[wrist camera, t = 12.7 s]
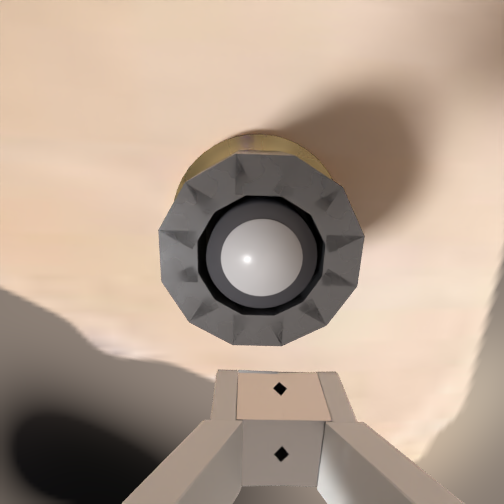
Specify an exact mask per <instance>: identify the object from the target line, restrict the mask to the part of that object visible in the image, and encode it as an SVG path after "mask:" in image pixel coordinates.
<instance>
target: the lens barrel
mask: <svg viewBox="0 0 504 504" xmlns="http://www.w3.org/2000/svg"><path fill="white" fill-rule="evenodd" d="M245 195H254V196H279V197H281V198H283V199H285V200H286V201H288V202H289V203H290V204H291V205H292V206H293V207H294V208H295V209H296V210H297V211H298V213H299V214H300V216H301V217H302V218H303V220H304V221H305V223H306V224H307V225H308V227H309V229H310V230H311V232H312V234H313V236H314V239H315V242H316V246H317V263H316V268H315V271H314V274H313V276H312V278H311V280H310V282H309V283H308V285H307V286H306V287H305V289H304V290H303V291H302V292H301V293H300V294H299V295H297V296H296V297H295V298H293V299H292V300H290V301H288V302H286V303H284V304H281V305H278V306H275V307H269V308H252V307H247V306H244V305H241V304H238V303H236V302H234V301H232V300H231V299H229V298H228V297H226V296H225V295H224V294H223V293H222V292H221V291H220V290H219V289H218V288H217V287H216V285H215V284H214V282H213V280H212V279H211V277H210V274H209V271H208V267H207V261H206V252H207V245H208V242H209V239H210V236H211V234H212V231H213V229H214V226H215V224H216V221H217V219H218V217H219V215H220V213H221V212H222V211H223V209H224V208H225V207H226V206H227V205H229V204H230V203H232V202H234V201H236V200H238V199H240V198H242V197H243V196H245ZM158 231H159V248H160V265H161V281H162V283H163V284H164V286H165V287H166V289H167V290H168V292H169V293H170V295H171V296H172V298H173V299H174V301H175V302H176V304H177V305H178V307H179V308H180V309H181V311H182V312H183V314H184V315H185V317H186V318H187V320H188V321H189V322H190V323H191V324H193V325H195V326H197V327H199V328H201V329H203V330H205V331H207V332H209V333H211V334H213V335H214V336H216V337H218V338H220V339H222V340H224V341H226V342H228V343H230V344H232V345H257V346H283V345H285V344H287V343H289V342H292V341H294V340H296V339H298V338H300V337H302V336H305V335H307V334H309V333H311V332H313V331H315V330H318V329H320V328H322V327H324V326H326V325H327V324H328V323H329V322H330V320H331V319H332V318H333V317H334V315H335V314H336V313H337V311H338V310H339V309H340V308H341V306H342V305H343V304H344V302H345V301H346V300H347V299H348V297H349V296H350V295H351V294H352V292H353V291H354V290H355V288H356V287H357V284H358V277H359V270H360V263H361V256H362V249H363V242H364V234H363V232H362V230H361V227H360V225H359V223H358V220H357V218H356V216H355V214H354V211H353V209H352V207H351V205H350V202H349V200H348V198H347V196H346V193H345V191H344V189H343V187H342V186H340V185H339V184H337V183H336V182H334V181H333V180H332V178H331V176H330V174H329V173H328V171H327V170H326V169H325V167H324V166H323V165H322V163H321V162H320V161H319V160H318V159H317V158H316V157H315V156H314V155H313V154H311V153H310V152H309V151H307V150H306V149H305V148H303V147H301V146H300V145H298V144H296V143H294V142H292V141H289V140H287V139H284V138H281V137H277V136H272V135H263V134H252V135H243V136H238V137H234V138H231V139H228V140H225V141H223V142H221V143H219V144H217V145H215V146H213V147H212V148H210V149H209V150H207V151H206V152H204V153H203V154H202V155H201V156H200V157H199V158H198V159H196V161H195V162H194V163H193V164H192V165H191V166H190V168H189V169H188V170H187V172H186V173H185V175H184V177H183V178H182V180H181V182H180V185H179V187H178V189H177V192H176V196H175V199H174V203H173V205H172V207H171V208H170V210H169V212H168V214H167V216H166V217H165V219H164V221H163V223H162V225H161V226H160V228H159V230H158Z"/></svg>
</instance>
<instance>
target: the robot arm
mask: <svg viewBox="0 0 504 504" xmlns="http://www.w3.org/2000/svg"><path fill="white" fill-rule="evenodd" d="M272 485H275V486H276V485H280V486H305V487H317V490H318V491H319V492H320V494H321V495H322V497H323V498H324V499H325V501H326V502H327V504H465V503H463V502H462V501H461V500H460V499H458V498H457V497H456V496H455V495H453V494H452V493H451V492H450V491H449V490H447V489H446V488H445V487H444V486H442V485H441V484H440V483H439V482H437V481H436V480H435V479H434V478H432V477H431V476H430V475H428V474H427V473H426V472H425V471H424V470H422V469H421V468H420V467H419V466H417V465H416V464H415V463H414V462H413V461H411V460H410V459H409V458H408V457H406V456H405V455H404V454H403V453H401V452H400V451H399V450H398V449H396V448H395V447H394V446H393V445H391V444H390V443H389V442H388V441H386V440H385V439H384V438H383V437H382V436H380V435H379V434H378V433H377V432H375V431H374V430H373V429H372V428H370V427H369V426H368V425H367V424H365V423H364V422H357V419H356V417H355V415H354V412H353V410H352V407H351V405H350V402H349V400H348V397H347V395H346V392H345V390H344V387H343V385H342V382H341V380H340V377H339V375H338V373H336V372H316V373H315V372H273V371H249V370H238V371H237V370H218V371H217V373H216V381H215V388H214V396H213V404H212V411H211V418H210V420H203V421H202V422H201V423H200V424H199V426H197V427H196V429H195V430H194V431H192V433H191V434H190V435H189V436H188V437H187V438H186V439H185V440H184V441H183V442H182V443H181V444H180V445H179V446H178V447H177V448H176V449H175V450H174V451H173V452H172V453H171V454H170V455H169V456H168V457H167V458H166V459H165V460H164V461H163V462H162V463H161V464H160V465H159V466H158V467H157V468H156V469H155V470H154V471H153V472H152V473H151V474H150V475H149V476H148V477H147V478H146V479H145V480H144V482H142V483H141V484H140V485H139V486H138V487H137V488H136V489H135V490H134V491H133V492H132V493H131V494H130V496H129V497H128V498H127V499H126V500H125V501H124V502H123V503H122V504H233V502H234V500H235V499H236V497H237V495H238V493H239V492H240V490H241V486H272Z"/></svg>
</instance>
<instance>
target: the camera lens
mask: <svg viewBox="0 0 504 504" xmlns="http://www.w3.org/2000/svg"><path fill="white" fill-rule="evenodd" d="M206 261H207V267H208V271H209V274H210V277H211V279H212V280H213V282H214V284H215V285H216V287H217V288H218V289H219V290H220V291H221V292H222V293H223V294H224V295H225V296H226V297H228V298H229V299H231V300H232V301H234V302H236V303H238V304H241V305H244V306H247V307H252V308H269V307H275V306H278V305H281V304H284V303H286V302H288V301H290V300H292V299H293V298H295V297H296V296H297V295H299V294H300V293H301V292H302V291H303V290H304V289H305V287H306V286H307V285H308V283H309V282H310V280H311V278H312V276H313V274H314V271H315V268H316V263H317V246H316V242H315V239H314V236H313V234H312V232H311V230H310V229H309V227H308V225H307V224H306V223H305V221H304V220H303V218H302V217H301V216H300V214H299V213H298V211H297V210H296V209H295V208H294V207H293V206H292V205H291V204H290V203H289V202H288V201H286V200H285V199H283V198H281V197H279V196H254V195H245V196H243V197H242V198H240V199H238V200H236V201H234V202H232V203H230V204H229V205H227V206H226V207H225V208H224V209H223V211H222V212H221V213H220V215H219V217H218V219H217V221H216V224H215V226H214V229H213V231H212V234H211V236H210V239H209V242H208V245H207V252H206Z"/></svg>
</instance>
